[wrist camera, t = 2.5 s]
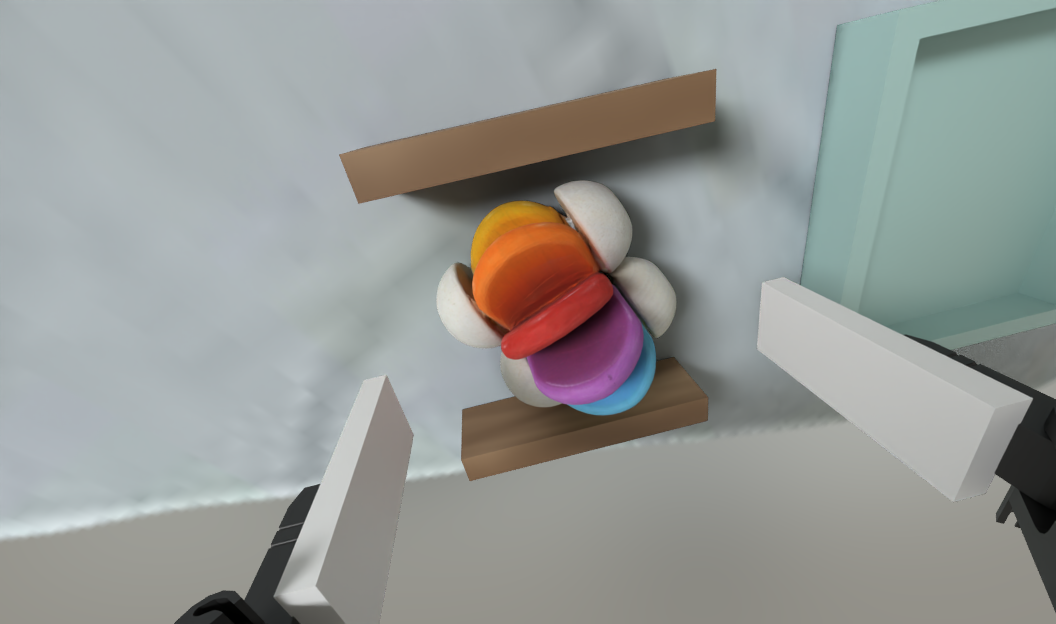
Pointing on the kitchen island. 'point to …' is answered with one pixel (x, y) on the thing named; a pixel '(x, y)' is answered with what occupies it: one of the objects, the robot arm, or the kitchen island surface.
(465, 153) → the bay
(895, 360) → the robot arm
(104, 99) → the kitchen island surface
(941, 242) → the tray
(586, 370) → the rainbow disc toy
